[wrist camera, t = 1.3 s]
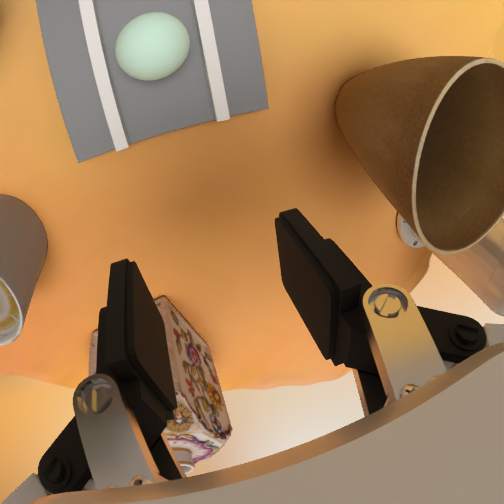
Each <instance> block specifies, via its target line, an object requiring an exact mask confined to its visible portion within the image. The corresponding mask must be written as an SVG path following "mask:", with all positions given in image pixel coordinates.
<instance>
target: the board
mask: <svg viewBox="0 0 504 504" xmlns="http://www.w3.org/2000/svg"><path fill="white" fill-rule="evenodd" d="M36 3H37V10H38V16H39V21H40V27H41V32H42V37H43V42H44V47H45V51H46V56H47V60H48V64H49V68H50V73H51V76H52V80H53V84H54V88H55V91H56V95H57V99H58V102H59V106H60V109H61V112H62V115H63V119H64V122H65V125H66V128H67V131H68V134H69V137H70V140H71V143H72V146H73V149H74V152H75V155H76V158H77V160H78V163H80V162H82V161H85V160H87V159H90V158H93V157H95V156H98V155H101V154H103V153H106V152H109V151H112V150H114V149H116V152H117V151H120V150H123V149H126V148H129V144H132V143H135V142H138V141H141V140H144V139H147V138H151V137H154V136H157V135H161V134H164V133H167V132H171V131H174V130H178V129H181V128H185V127H189V126H192V125H196V124H200V123H204V122H208V121H212V120H216V121H217V122H220V121H224V120H229V119H230V116H234V115H238V114H243V113H248V112H253V111H258V110H263V109H268V108H269V107H268V100H267V93H266V86H265V80H264V73H263V67H262V60H261V54H260V48H259V42H258V35H257V29H256V24H255V18H254V12H253V6H252V1H251V0H36ZM150 12H162V13H167V14H170V15H172V16H174V17H176V18H177V19H179V20H180V21H181V22H182V23H183V24H184V26H185V27H186V29H187V31H188V34H189V39H190V47H189V52H188V55H187V57H186V59H185V61H184V62H183V64H182V65H181V66H180V67H179V68H178V69H177V70H176V71H175V72H173V73H172V74H170V75H169V76H167V77H164V78H162V79H158V80H152V81H145V80H139V79H136V78H133V77H131V76H130V75H128V74H127V73H125V72H124V71H123V70H122V68H121V67H120V66H119V64H118V62H117V59H116V54H115V46H116V41H117V38H118V36H119V34H120V32H121V30H122V29H123V28H124V26H125V25H126V24H127V23H129V22H130V21H131V20H133V19H134V18H136V17H138V16H140V15H143V14H146V13H150Z"/></svg>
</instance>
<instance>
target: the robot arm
mask: <svg viewBox="0 0 504 504" xmlns="http://www.w3.org/2000/svg"><path fill="white" fill-rule="evenodd" d="M275 228H276V235H277V243H278V251H279V260H280V268H281V276H282V282H283V285H284V287H285V289H286V291H287V293H288V295H289V296H290V298H291V300H292V302H293V303H294V305H295V307H296V309H297V310H298V312H299V314H300V316H301V318H302V319H303V321H304V323H305V325H306V326H307V328H308V330H309V332H310V333H311V335H312V337H313V339H314V341H315V342H316V344H317V346H318V348H319V349H320V351H321V353H322V355H323V356H324V358H325V359H326V360H328V359H330V358H331V360H332V362H333V363H334V365H335V366H337V365H340V364H342V363H344V364H345V366H346V367H349V368H352V369H353V373H354V377H355V381H356V384H357V388H358V392H359V395H360V400H361V404H362V407H363V411H364V416H365V417H364V418H362V419H360V420H358V421H356V422H354V423H351V424H349V425H348V426H345V427H343V428H341V429H338V430H336V431H333V432H331V433H329V434H327V435H324V436H322V437H319V438H317V439H314V440H312V441H309V442H307V443H304V444H301V445H299V446H296V447H293V448H290V449H288V450H285V451H282V452H279V453H276V454H273V455H270V456H267V457H264V458H261V459H258V460H254V461H251V462H248V463H244V464H241V465H237V466H233V467H230V468H226V469H222V470H218V471H214V472H210V473H205V474H201V475H196V476H192V477H186V475H185V473H184V471H183V469H182V467H181V465H180V463H179V462H178V460H177V458H176V456H175V454H174V452H173V450H172V448H171V446H170V444H169V442H168V440H167V438H166V436H165V434H164V432H163V431H164V430H165V428H166V427H167V421H169V420H173V419H175V418H174V413H173V410H174V409H177V408H178V405H177V399H176V394H175V388H174V383H173V377H172V371H171V365H170V358H169V352H168V345H167V338H166V331H165V324H164V321H163V318H162V316H161V314H160V312H159V310H158V308H157V306H156V304H155V302H154V300H153V298H152V296H151V294H150V292H149V290H148V288H147V286H146V283H145V281H144V279H143V277H142V275H141V273H140V271H139V269H138V266H137V264H136V262H135V261H132V262H130V261H129V260H128V259H124V260H121V261H118V262H115V263H112V264H111V267H110V277H109V287H108V299H107V307H104V308H101V310H100V313H99V324H98V339H97V360H96V374H94V375H91V376H89V377H87V378H86V379H84V380H83V381H82V382H81V383H80V384H79V385H78V387H77V388H76V390H75V392H74V396H73V407H74V412H75V416H74V418H73V419H72V420H71V421H70V422H69V424H68V425H67V426H66V427H65V429H64V430H63V431H62V433H61V434H60V435H59V436H58V438H57V439H56V440H55V441H54V443H53V444H52V445H51V446H50V447H49V449H48V450H47V451H46V452H45V454H44V455H43V456H42V458H41V460H40V462H39V466H38V474H37V475H36V474H34V473H33V474H32V475H30V476H29V478H27V479H26V480H25V481H24V482H23V483H22V484H21V485H20V486H19V487H18V488H17V489H16V490H15V491H14V492H13V493H11V494H10V495H9V496H8V497H7V498H6V499H5V500H4V501H3V503H2V504H504V324H488V323H487V324H485V326H484V327H482V326H481V325H480V324H479V322H477V321H476V320H474V319H472V318H469V317H467V316H462V315H457V314H452V313H448V312H443V311H438V310H434V309H429V308H424V307H420V306H416V304H415V302H414V300H413V299H412V297H411V296H410V294H409V293H408V291H406V290H405V289H403V288H402V287H400V286H397V285H395V284H389V283H383V284H378V285H374V286H372V285H371V284H370V283H369V281H368V280H367V279H366V278H365V277H364V275H363V274H362V273H361V272H360V271H359V270H358V268H357V267H356V266H355V265H354V264H353V263H352V262H351V260H350V259H349V258H348V257H347V256H346V255H345V254H344V252H343V251H342V250H341V249H340V248H339V247H338V246H337V245H336V243H335V242H334V241H333V240H331V239H329V238H328V239H325V240H324V239H323V237H322V236H321V235H320V234H319V233H318V232H317V230H316V229H315V228H314V227H313V226H312V225H311V224H310V223H309V221H308V220H307V219H306V218H305V217H304V216H303V215H302V214H301V212H300V211H299V210H298V209H297V208H294V209H291V210H287V211H283V212H280V213H279V217H278V218H275ZM397 229H398V234H399V236H400V238H401V239H402V240H403V241H404V242H405V243H406V244H407V245H408V246H410V247H412V248H421V247H425V246H426V245H425V244H424V243H423V242H422V240H421V239H420V238H419V237H418V236H417V234H416V233H415V232H414V231H413V229H412V228H411V227H410V226H409V225H408V223H407V222H406V221H405V220H404V219H403V217H402V216H401V215H400V214H399V213H398V218H397ZM426 247H427V246H426ZM427 248H428V247H427ZM428 249H429V248H428ZM429 250H430V251H431V252H432V253H433V254H434V255H436V256H437V257H438V258H439V259H440V260H441V261H442V262H443V263H444V264H445V265H446V266H447V267H448V268H450V269H451V270H452V271H453V272H454V273H455V274H456V275H457V276H458V277H459V278H460V279H461V280H462V281H463V282H464V283H465V284H466V285H467V286H468V287H469V288H470V289H471V290H472V291H473V292H474V293H475V294H476V295H477V296H478V297H479V298H480V299H481V300H482V301H483V302H484V303H485V304H486V305H487V306H488V307H489V308H490V309H491V310H492V311H493V312H495V313H496V314H498V315H501V316H504V219H503V218H501V219H500V221H499V222H498V223H497V224H496V225H495V226H494V228H493V229H492V230H491V231H490V232H489V233H488V234H487V235H486V236H485V237H483V238H482V239H481V240H480V241H479V242H477V243H476V244H475V245H473V246H472V247H470V248H468V249H466V250H464V251H462V252H458V253H454V254H439V253H436V252H434V251H432V250H431V249H429Z"/></svg>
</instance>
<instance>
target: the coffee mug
mask: <svg viewBox="0 0 504 504" xmlns="http://www.w3.org/2000/svg"><path fill="white" fill-rule="evenodd" d="M47 249H48V243H47V236H46V232H45V229H44V226H43V224H42V222H41V221H40V219H39V217H38V216H37V214H36V213H35V212H34V211H33V210H32V209H31V208H30V207H29V206H28V205H27V204H25V203H24V202H22V201H21V200H19V199H17V198H15V197H12V196H8V195H0V346H2V345H6V344H9V343H11V342H13V341H14V340H15V339H16V338H17V337H18V336H19V335H20V333H21V330H22V328H23V325H24V321H25V318H26V314H27V311H28V308H29V304H30V301H31V298H32V295H33V292H34V289H35V286H36V283H37V280H38V277H39V274H40V272H41V269H42V266H43V264H44V261H45V258H46V255H47Z"/></svg>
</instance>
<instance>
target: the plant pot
mask: <svg viewBox="0 0 504 504" xmlns="http://www.w3.org/2000/svg"><path fill="white" fill-rule="evenodd" d="M335 115H336V120H337V123H338V125H339V127H340V129H341V131H342V133H343V135H344V137H345V139H346V140H347V142H348V144H349V146H350V147H351V149H352V151H353V152H354V154H355V155H356V157H357V158H358V160H359V161H360V163H361V164H362V166H363V167H364V169H365V170H366V171H367V173H368V174H369V176H370V177H371V178H372V180H373V181H374V182H375V184H376V185H377V186H378V188H379V189H380V190H381V192H382V193H383V194H384V195H385V197H386V198H387V199H388V200H389V202H390V203H391V204H392V205H393V207H394V208H395V209H396V210H397V211H398V213H399V214H400V215H401V216H402V217H403V219H404V220H405V221H406V222H407V223H408V225H409V226H410V227H411V228H412V229H413V231H414V232H415V233H416V234H417V236H418V237H419V238H420V239H421V240H422V242H423V243H424V244H425V245H426V246H427V247H428V248H429V249H431V250H432V251H434V252H436V253H439V254H454V253H458V252H462V251H464V250H466V249H468V248H470V247H472V246H473V245H475V244H476V243H477V242H479V241H480V240H481V239H482V238H483V237H485V236H486V235H487V234H488V233H489V232H490V231H491V230H492V229H493V228H494V226H495V225H496V224H497V223H498V222H499V221H500V219H501V218H502V217H503V215H504V63H502V62H500V61H498V60H496V59H492V58H483V57H466V56H439V57H425V58H417V59H409V60H404V61H399V62H395V63H391V64H387V65H383V66H380V67H377V68H374V69H371V70H369V71H366V72H364V73H362V74H360V75H358V76H356V77H354V78H352V79H350V80H349V81H348V82H347V83H345V85H344V86H343V87H342V88H341V90H340V92H339V94H338V96H337V100H336V104H335Z"/></svg>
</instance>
